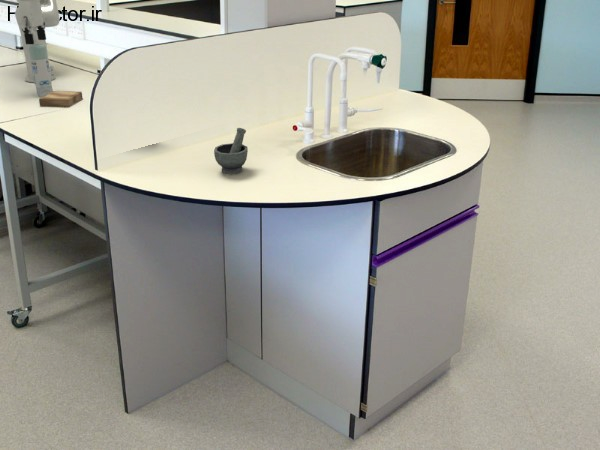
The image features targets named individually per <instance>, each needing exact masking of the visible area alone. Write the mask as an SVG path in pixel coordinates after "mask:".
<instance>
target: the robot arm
mask: <svg viewBox="0 0 600 450" xmlns="http://www.w3.org/2000/svg"><path fill="white" fill-rule="evenodd" d="M16 2H17V3H18V7H16V9H15V11H14V16H15V20H16V23H17V26H18V29H19V33H20V38H21V44H22V48H23V53H24V54H23V55H24V58H25V65H26V70H27V75H26V77H24V81H26V82H28V83H35V81H34V75H33V70H32V64H31V59H30V53H29V45H33V44H44V45H45V46H46V51H47V57H48V64H49V70H50V77H51V81H52V80H55V79H56V75H55V74H53V73H52V71H54V70H55V68H54V66H52V65H51V64H50V60H49V54H48V48H47V43H46V42H47V41H46V40H47V35H46V30H45V29H46V28H52V27H57V26H58V25H59V24H60V14H59V8H58V4H57V0H16Z"/></svg>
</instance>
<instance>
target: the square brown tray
mask: <svg viewBox="0 0 600 450" xmlns="http://www.w3.org/2000/svg"><path fill="white" fill-rule="evenodd" d="M83 99H84V98H83V93H82V91H73V90H70V91H68V90H65V91H64V90H53V91H52V92H50V93H49V94H47V95H45V96H43V97H38V103H39V106H40V107H42V108H43V107H44V108H46V107H47V108H49V107H50V108H71V107H72V106H74V105H76V104H77V103H79V102H80V101H82V100H83Z"/></svg>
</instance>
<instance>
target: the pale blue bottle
mask: <svg viewBox="0 0 600 450" xmlns="http://www.w3.org/2000/svg"><path fill="white" fill-rule="evenodd" d="M46 47H47V45H46V46H45V45H44V44H33V45H29V53H30V59H31V64H32V70H33V75H34V81H35V82H34V86H35V91H36V96H37V97H38V98H41V97H43V96H45V95H47V94H49V93H50V92H52V91H54V90H53V84H52V80H51V77H50V70H49V65H50V63H49V64H48V59H49V56H48V57H47V53H48V50H47V51H46Z"/></svg>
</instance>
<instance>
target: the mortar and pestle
mask: <svg viewBox="0 0 600 450" xmlns="http://www.w3.org/2000/svg"><path fill="white" fill-rule="evenodd" d="M246 132H247V130H246V129H245V128H242V127H237V128H236V134H235V137H234V140H233V142H231V143H224V144H223V143H222V144H220V145H217V146H215V148H214V152H213V154H214V159H215V161H216V163H217V164H218V165H219V166H220V167H221V173H222V174H224V175H228V176H229V175H230V176H231V175H239V174H241V173H243V166H244V165H245V163H246V161H247V159H248V152H249V151H248V150H249V149H248V146H247V145H245V144H243V142H244V138H245V134H246Z"/></svg>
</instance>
